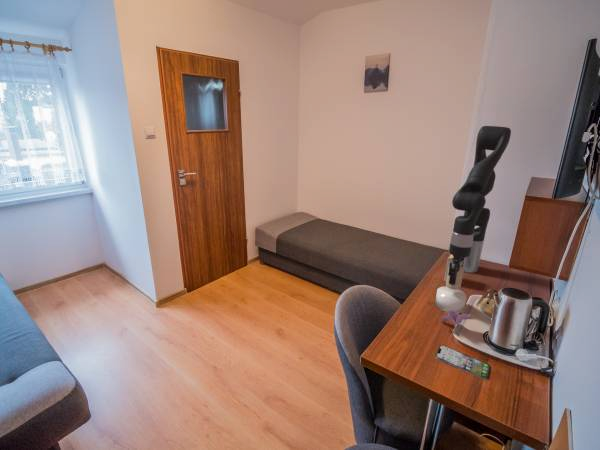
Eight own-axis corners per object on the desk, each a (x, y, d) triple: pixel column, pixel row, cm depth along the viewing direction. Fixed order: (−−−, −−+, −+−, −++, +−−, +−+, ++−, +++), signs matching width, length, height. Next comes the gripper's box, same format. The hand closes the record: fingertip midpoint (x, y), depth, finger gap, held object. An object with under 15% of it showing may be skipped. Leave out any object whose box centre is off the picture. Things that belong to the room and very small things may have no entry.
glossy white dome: (440, 295, 134) (442, 283, 132) (467, 304, 127) (469, 292, 125) (431, 306, 126) (433, 294, 124) (459, 317, 119) (462, 304, 117)
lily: (478, 334, 111) (475, 307, 113) (473, 340, 102) (470, 310, 103) (443, 332, 118) (440, 306, 120) (436, 337, 109) (433, 309, 110)
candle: (462, 290, 120) (467, 267, 117) (448, 289, 121) (452, 267, 118) (457, 283, 126) (461, 261, 122) (443, 282, 126) (447, 261, 123)
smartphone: (488, 380, 90) (435, 357, 98) (487, 382, 90) (434, 359, 99) (490, 364, 96) (440, 344, 104) (489, 367, 96) (440, 346, 104)
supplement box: (454, 285, 142) (459, 260, 138) (443, 282, 145) (447, 257, 140) (458, 278, 148) (462, 253, 144) (447, 275, 151) (451, 251, 147)
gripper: (466, 251, 110) (459, 291, 115) (476, 239, 120) (468, 277, 125) (445, 246, 114) (438, 285, 120) (456, 235, 124) (449, 271, 130)
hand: (454, 281), depth 123 cm, fingers closed on candle, 5 cm apart
